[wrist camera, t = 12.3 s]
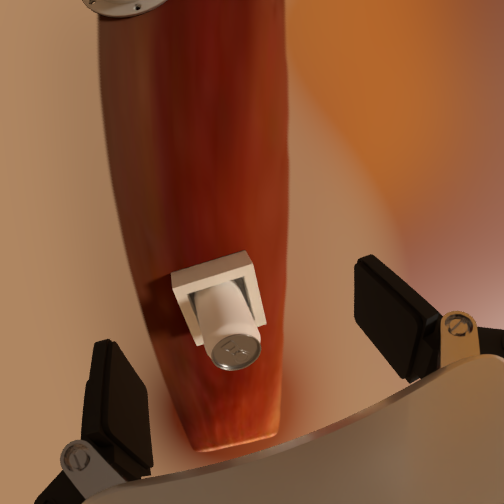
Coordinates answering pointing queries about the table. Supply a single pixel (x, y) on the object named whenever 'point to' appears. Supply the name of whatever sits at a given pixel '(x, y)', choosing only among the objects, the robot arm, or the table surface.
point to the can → (227, 326)
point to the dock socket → (214, 274)
